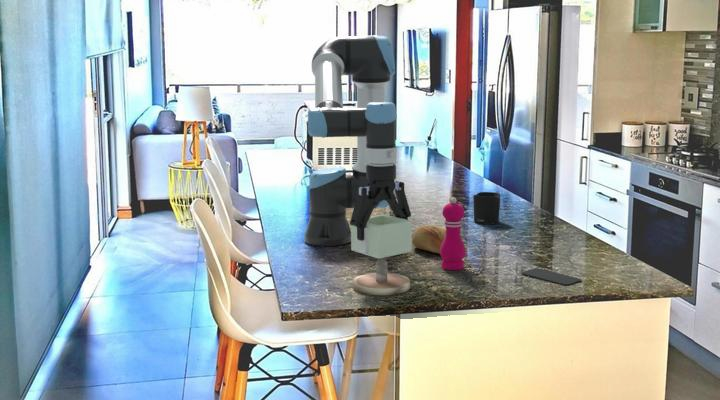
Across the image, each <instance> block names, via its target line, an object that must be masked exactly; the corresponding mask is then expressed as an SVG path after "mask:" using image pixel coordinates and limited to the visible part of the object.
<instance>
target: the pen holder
mask: <svg viewBox="0 0 720 400" xmlns="http://www.w3.org/2000/svg"><path fill="white" fill-rule="evenodd" d="M472 197H473V221H474V223H476V224H479V225H496V224H497V223H499V221H500V220H499V219H500V206H501V194H500V193H498V192H493V191H480V192H478V193H476V194H473V195H472Z"/></svg>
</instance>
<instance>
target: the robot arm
mask: <svg viewBox="0 0 720 400" xmlns="http://www.w3.org/2000/svg"><path fill="white" fill-rule="evenodd" d="M311 59H312V60H311V72H312V75H313V76H314V85H315V86H314V91H315V92H314V94H315V95H314V100H315V101H314V102H315V103H314V106H315V107H313V108H310V109H308V111H307V131H308V135H309V136H310V137H312V138H323V139H325V138H343V137H345V138H346V137H349V138H352V137H353V138H354V137H356V143H357V150H356V151H357V152H356V153H357V154H356V155H357V156H356V157H357V158H356V159H357V160H356V162H355V163H354V164H353V165H352V171H347V169H346V168H345V167H343V166H336V167H335V166H334V167H326V168H321V169H318V170H317V169H316V170H315V171H312V173H311V174H310V175H309V179H308V180H309V182H308V183H309V184H308V189H309V220H308V223H307V225H306V226H307V227H306V231H305V233H304V242H305V243H306V244H308V245H311V246H312V245H313V246H320V247H330V246H331V247H333V246H343V245H347V244H349V243H351V225H352V226H356V227H357V239H358V240H359V252H362V253H365V254H367V253H368V228H366V227H365V226H366V224H367V222H368V220H369V218H370V217H371V216H372V213H373V212H374V210H376V209H379V208H380V209H381V208H387V207H390V210H391V211H392V213H393V214H394V215H393V216H394V217H398V218H402V219H406V220H409V218H410V217H411V216H412V213H411V209H410V206H409V201H408V198H407V195H406V193H405V183H404V181H398V180H397V181H395V180H396V178H397V166H396V164H395V163H396V162H397V155H396V154H397V146H396V138H397V137H396V134H397V132H396V131H397V129H396V128H397V127H396V126H397V125H396V124H397V111H396V110H397V109H396V104H395V103H394V102H391V101H390V102H389V101H386V86H387V85H389V83H390V82H391V76H394V75H395V74H396V63H395V57H394V49H393V43H392V40H391V38H389V37H388V36H386V35H385V36H384V35H375V34H374V35H351V36H350V35H347V36H345V35H339V36H336V37H333V38H330V39H329V40H327V41H325V42H324V43H323V44H321V45H320V46H319V48H317V50H316V51H315V53H314V54H313V56H312V58H311ZM342 76H351V82H352V83H353V84H354V85H355V86H356V94H357V95H356V107H344V100H343V83H342V81H343V80H342ZM347 209H352V214H351V218H350V222H348V219H347ZM359 252H358V253H359ZM362 253H361V254H362ZM365 254H364V255H365Z"/></svg>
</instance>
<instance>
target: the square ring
mask: <svg viewBox="0 0 720 400" xmlns="http://www.w3.org/2000/svg"><path fill="white" fill-rule="evenodd" d="M365 227H366V228H368V253H367V254H365V253H362V252H359V240H358V239H357V227H356V226H352V225H350V230H351V242H350V245H351V246H350V247H351V249H350V250H351V251H353V252H356V253H359V254H363V255H366V256H368V257H372V258H375V259H377V260H378V259H380V258H382V259H385V258H388V257H393V256H396V255H401V254H406V253H412V252H413V251H412V250H413V249H412V248H413V247H412V245H413V242H412V240H413V237H412V235H413V232H412V231H413V229H412V228H413V220H410V219H408V220H406V219H402V218H398V217H396V216H395V215H393V216H392V215H389V214H386V213H385V214H384V213H383V214H378V215H371V216H370V218H369V220H368V222H367V224H366V226H365Z"/></svg>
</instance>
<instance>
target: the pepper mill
mask: <svg viewBox="0 0 720 400" xmlns="http://www.w3.org/2000/svg"><path fill="white" fill-rule="evenodd" d="M449 201H450V202H449V203H447V204H444V206H443V208H442V216H443V218H444V220H443V222H444V223H443V225H444V226H445V230H446V235H445V238H444V241H443V243H442V245H441V248H440V254H439V255H440V257H441V258H442V260H441V268H442V269H443V270H447V271H460V270H463V269H464V268H465V267H464V266H465V262H464V260H463V259H464V258H465V257H466V247H465V244H464V243H463V239H462V236H461V227H462V226H463V224H462V223H463V220H462V219H463V218H464V216H465V210H464V207H463V206H462V204H460V203H457V202H458V200H457V198H456V197H451V198H450V200H449Z"/></svg>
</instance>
